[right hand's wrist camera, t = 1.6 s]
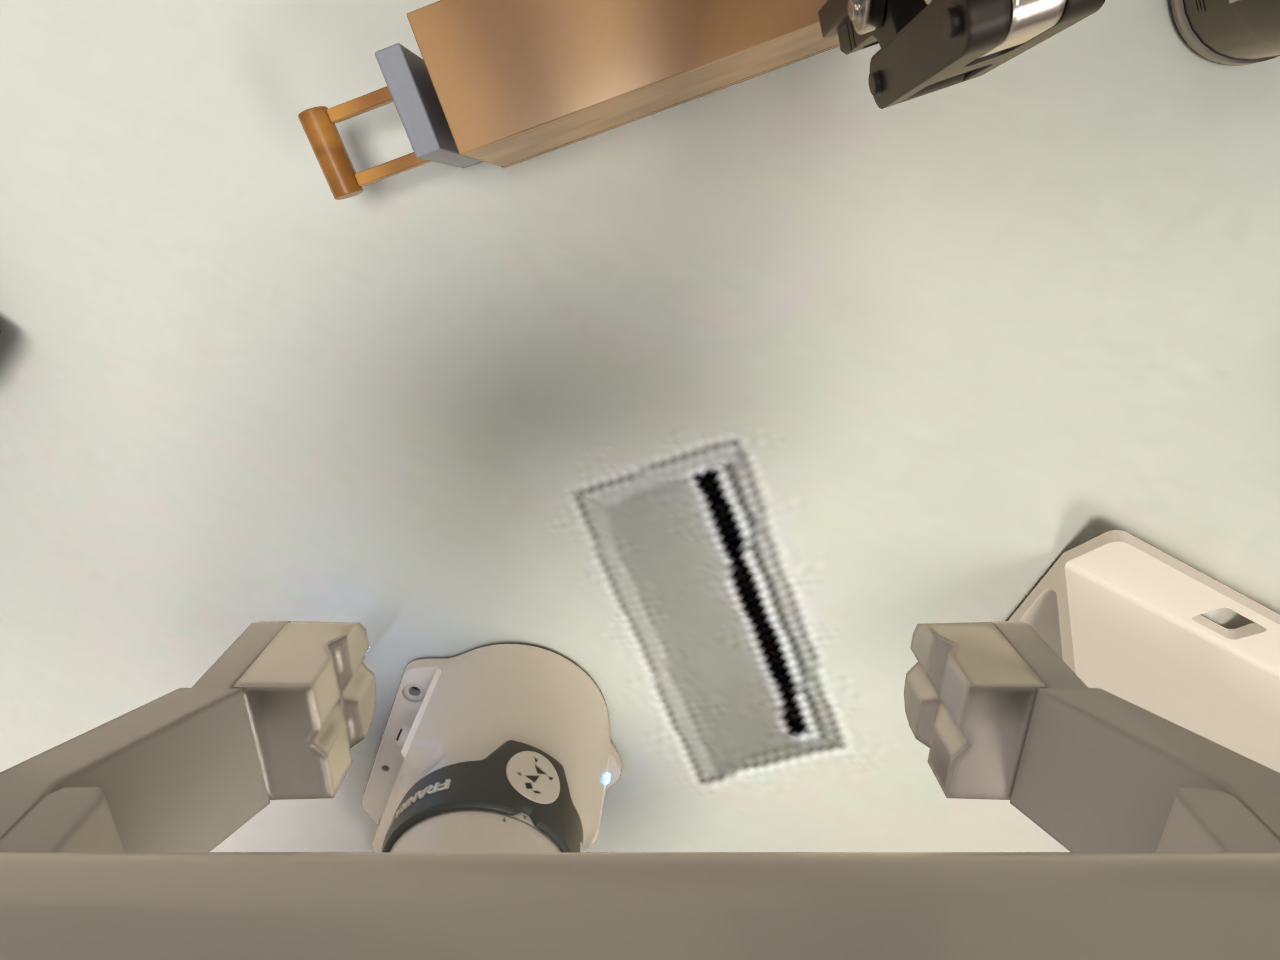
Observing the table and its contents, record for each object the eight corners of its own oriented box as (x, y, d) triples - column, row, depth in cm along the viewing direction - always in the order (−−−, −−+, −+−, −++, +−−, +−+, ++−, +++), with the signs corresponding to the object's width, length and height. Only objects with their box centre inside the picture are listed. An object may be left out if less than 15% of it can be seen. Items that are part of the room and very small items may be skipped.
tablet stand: (1187, 816, 59) (1390, 1042, 43) (939, 704, 55) (1063, 907, 39) (1356, 652, 53) (1664, 842, 37) (1095, 512, 49) (1314, 659, 33)
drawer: (368, 203, 41) (297, 202, 33) (333, 123, 40) (250, 100, 31) (801, 44, 38) (847, -2, 30) (781, -49, 37) (824, -125, 28)
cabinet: (503, 168, 41) (459, 155, 31) (465, 63, 39) (405, 13, 29) (857, 39, 39) (934, -21, 29) (835, -79, 37) (909, -187, 27)
